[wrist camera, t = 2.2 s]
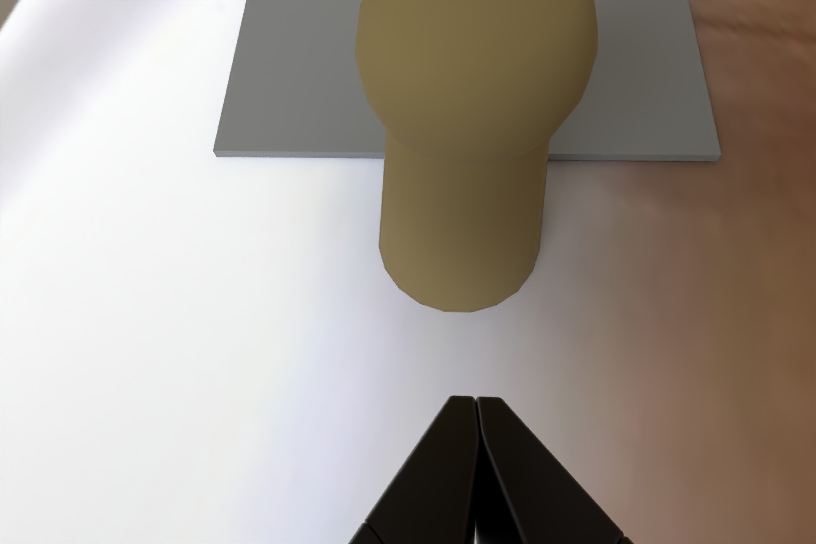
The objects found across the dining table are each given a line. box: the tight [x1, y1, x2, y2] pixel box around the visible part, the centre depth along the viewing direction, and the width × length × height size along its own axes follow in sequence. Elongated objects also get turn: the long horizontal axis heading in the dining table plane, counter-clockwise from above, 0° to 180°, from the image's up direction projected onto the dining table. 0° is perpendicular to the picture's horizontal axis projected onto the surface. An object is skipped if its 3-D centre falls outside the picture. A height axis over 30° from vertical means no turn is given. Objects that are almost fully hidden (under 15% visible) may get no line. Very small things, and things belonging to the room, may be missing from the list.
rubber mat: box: [213, 0, 721, 161], centre depth 25 cm, size 16×20×1 cm
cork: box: [355, 0, 598, 312], centre depth 15 cm, size 6×6×11 cm
